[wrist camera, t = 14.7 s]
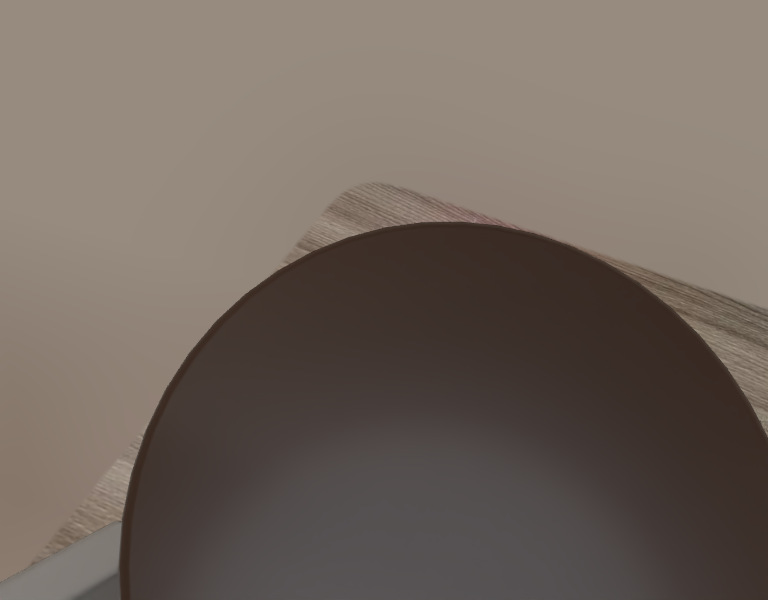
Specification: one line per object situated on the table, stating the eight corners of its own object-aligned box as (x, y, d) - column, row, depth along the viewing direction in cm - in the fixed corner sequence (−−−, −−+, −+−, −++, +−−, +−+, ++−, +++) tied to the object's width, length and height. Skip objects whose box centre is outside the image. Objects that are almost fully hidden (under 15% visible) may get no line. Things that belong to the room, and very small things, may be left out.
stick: (422, 517, 18) (786, 266, 4) (408, 643, 17) (844, 1025, 3) (309, 500, 18) (207, 176, 4) (287, 625, 17) (8, 900, 2)
